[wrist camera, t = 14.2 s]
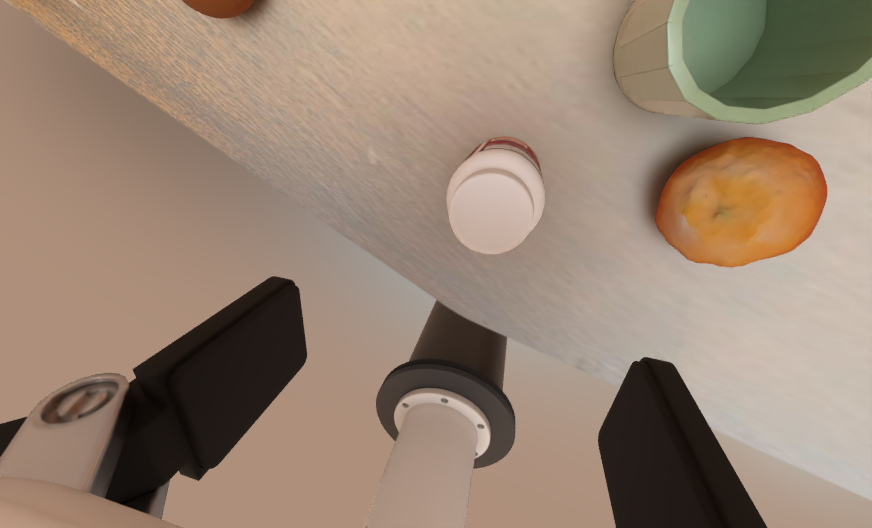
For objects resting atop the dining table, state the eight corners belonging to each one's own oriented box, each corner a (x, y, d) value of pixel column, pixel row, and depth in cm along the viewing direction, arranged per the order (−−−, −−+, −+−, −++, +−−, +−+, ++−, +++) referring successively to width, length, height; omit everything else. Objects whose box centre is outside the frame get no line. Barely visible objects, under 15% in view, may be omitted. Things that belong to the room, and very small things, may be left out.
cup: (727, 119, 22) (854, 133, 13) (596, 106, 24) (635, 112, 15) (803, -46, 18) (1054, -175, 9) (640, -48, 20) (728, -162, 11)
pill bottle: (485, 222, 29) (465, 281, 20) (452, 160, 28) (413, 192, 18) (553, 190, 27) (566, 242, 17) (521, 120, 25) (517, 134, 16)
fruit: (782, 259, 24) (778, 300, 19) (660, 227, 29) (630, 252, 23) (855, 142, 20) (875, 152, 15) (700, 128, 25) (674, 132, 20)
